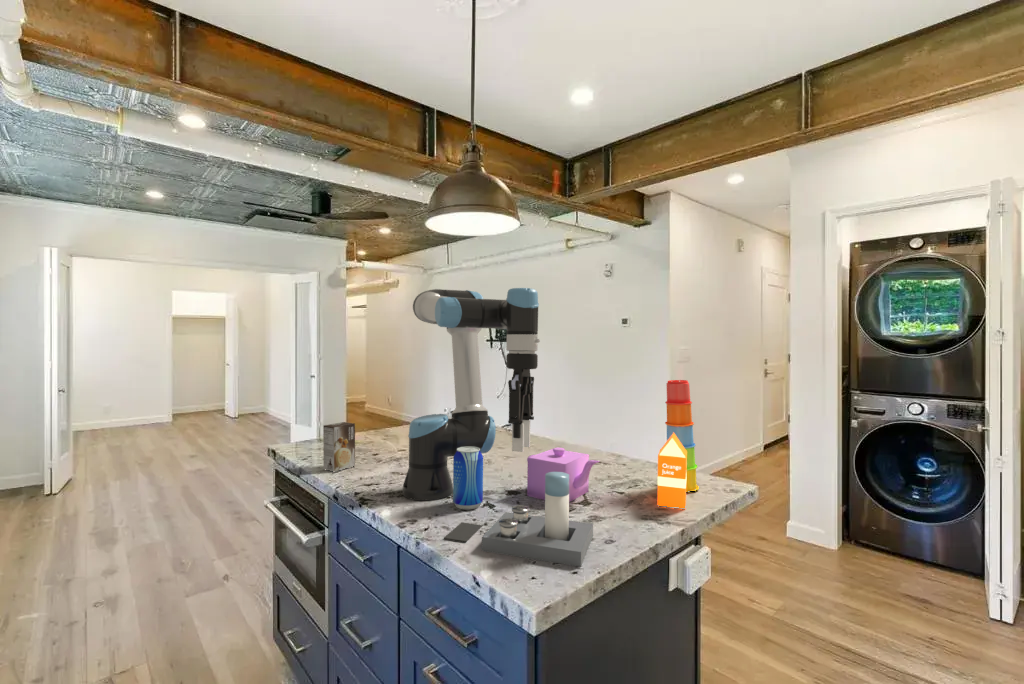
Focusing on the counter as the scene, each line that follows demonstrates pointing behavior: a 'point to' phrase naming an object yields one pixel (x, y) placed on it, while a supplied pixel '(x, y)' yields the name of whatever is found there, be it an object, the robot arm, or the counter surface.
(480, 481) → the beer can
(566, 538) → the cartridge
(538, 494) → the teapot
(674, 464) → the orange juice
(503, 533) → the chrome dome knob
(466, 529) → the mat
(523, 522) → the plunger far
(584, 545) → the housing
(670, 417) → the stacking cups
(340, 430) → the coffee box
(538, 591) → the counter surface
